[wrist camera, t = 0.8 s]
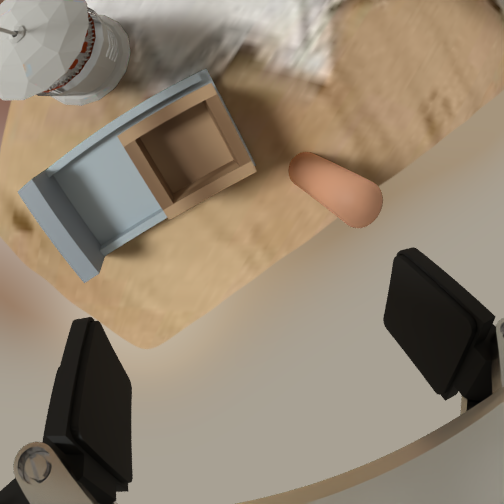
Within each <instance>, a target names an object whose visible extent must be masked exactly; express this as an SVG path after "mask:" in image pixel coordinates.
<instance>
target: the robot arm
mask: <svg viewBox="0 0 504 504" xmlns="http://www.w3.org/2000/svg"><path fill="white" fill-rule="evenodd" d="M494 319H495V316H494V315H493V314H492V313H491V312H490V311H489V310H488V309H486V307H484V306H483V305H482V304H481V303H480V302H479V301H478V300H477V299H476V298H475V297H473V296H472V295H471V294H470V293H469V292H468V291H467V290H466V289H465V288H463V287H462V286H461V285H460V284H459V283H458V282H456V281H455V280H454V279H453V278H452V277H451V276H449V275H448V274H447V273H446V272H445V271H444V270H442V269H441V268H440V267H439V266H438V265H436V264H435V263H434V262H433V261H431V260H430V259H429V258H428V257H427V256H425V255H424V254H423V253H421V252H420V251H419V250H418V249H416V248H409V249H405V250H401V251H399V252H398V253H397V256H396V257H395V258H394V261H393V267H392V274H391V280H390V286H389V292H388V297H387V303H386V309H385V314H384V325H385V327H386V329H387V330H388V331H389V332H390V334H391V335H392V336H393V337H394V338H395V340H396V341H397V342H398V344H399V345H400V346H401V348H402V349H403V350H404V351H405V353H406V354H407V355H408V357H409V358H410V359H411V361H412V362H413V363H414V364H415V366H416V367H417V368H418V370H419V371H420V372H421V373H422V375H423V376H424V378H425V379H426V380H427V382H428V383H429V384H430V386H431V387H432V388H433V390H434V391H435V392H436V393H437V394H441V396H442V397H443V398H444V400H447V399H449V398H451V397H453V396H454V395H456V394H457V393H458V391H459V392H460V393H461V395H462V399H461V414H460V416H459V417H457V418H455V419H454V420H452V421H450V422H449V423H447V424H445V425H444V426H442V427H440V428H438V429H437V430H435V431H433V432H431V433H430V434H428V435H426V436H424V437H422V438H420V439H418V440H417V441H415V442H413V443H411V444H409V445H407V446H405V447H403V448H401V449H399V450H397V451H395V452H393V453H390V454H388V455H386V456H384V457H381V458H379V459H377V460H375V461H372V462H370V463H368V464H365V465H363V466H360V467H358V468H356V469H353V470H350V471H348V472H345V473H343V474H340V475H338V476H334V477H332V478H329V479H326V480H323V481H320V482H317V483H314V484H311V485H308V486H305V487H301V488H298V489H294V490H291V491H288V492H284V493H280V494H276V495H272V496H268V497H264V498H260V499H256V500H252V501H247V502H242V503H237V504H504V318H502V319H501V320H499V321H498V323H497V325H496V327H495V326H494V325H493V321H494ZM131 399H132V387H131V382H130V380H129V377H128V376H127V374H126V372H125V370H124V368H123V366H122V365H121V363H120V361H119V359H118V357H117V355H116V353H115V352H114V350H113V348H112V346H111V344H110V342H109V340H108V338H107V336H106V334H105V332H104V329H103V327H102V325H101V323H100V322H99V321H94V319H93V318H92V317H88V318H82V319H76V320H74V321H73V323H72V325H71V329H70V332H69V336H68V339H67V343H66V346H65V350H64V354H63V357H62V361H61V365H60V367H59V368H58V370H57V374H56V378H55V382H54V386H53V391H52V395H51V399H50V405H49V409H48V414H47V420H46V425H45V431H44V436H43V442H32V443H29V444H27V445H25V446H23V447H22V448H21V449H20V450H19V451H18V453H17V455H16V457H15V460H14V464H13V470H14V475H15V479H14V480H12V481H11V482H10V483H9V484H8V485H7V486H6V487H5V488H3V489H2V490H1V491H0V504H117V503H116V502H115V501H116V492H117V491H118V492H120V491H121V492H122V491H128V483H130V482H132V451H131V450H132V449H131Z"/></svg>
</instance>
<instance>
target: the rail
mask: <svg viewBox="0 0 504 504" xmlns="http://www.w3.org/2000/svg"><path fill="white" fill-rule="evenodd" d="M210 83H212V85H213V87H214V88H215V90H216V92H217V94H218V96H219V98H220V100H221V102H222V104H223V106H224V108H225V109H226V111H227V113H228V115H229V117H230V119H231V121H232V123H233V125H234V127H235V129H236V131H237V133H238V135H239V137H240V139H241V141H242V143H243V145H244V147H245V149H246V151H247V153H248V155H249V157H250V159H251V161H252V163H253V165H254V166H256V165H255V163H254V161H253V158H252V156H251V154H250V152H249V150H248V148H247V146H246V144H245V142H244V140H243V138H242V136H241V134H240V133H239V131H238V129H237V127H236V125H235V123H234V121H233V119H232V117H231V115H230V113H229V111H228V109H227V107H226V105H225V103H224V101H223V99H222V97H221V96H220V94H219V92H218V90H217V88H216V86H215V84H214V82H213V80H212V78H211V77H210V75H209V73H208V71H207V69H206V68H205V69H203V70H201V71H199V72H197V73H195V74H193V75H191V76H189V77H187V78H185V79H184V80H182V81H180V82H178V83H176V84H174V85H172V86H170V87H169V88H167V89H165V90H163V91H161V92H159V93H158V94H156V95H154V96H152V97H151V98H149V99H147V100H146V101H144V102H142V103H141V104H139V105H137V106H136V107H134V108H132V109H131V110H129V111H127V112H126V113H124V114H123V115H121V116H120V117H118V118H116V119H115V120H113V121H112V122H110V123H109V124H107V125H106V126H104V127H103V128H101V129H100V130H99V131H97V132H96V133H94V134H93V135H91V136H90V137H88V138H87V139H86V140H84V141H83V142H82V143H80V144H79V145H77V146H76V147H75V148H73V149H72V150H71V151H69V152H68V153H67V154H65V155H64V156H63V157H62V158H60V159H59V160H58V161H56V162H55V163H54V164H53V165H51V166H50V167H49V168H47V169H46V170H44V171H43V172H41V173H40V174H38V175H37V176H36V177H34V178H33V179H31V180H30V181H29V182H28V183H27V184H26V185H24V186H23V187H22V188H21V189H20V190H19V191H18V194H19V195H20V197H21V198H22V200H23V201H24V203H25V204H26V206H27V207H28V209H29V210H30V212H31V213H32V215H33V216H34V218H35V219H36V220H37V222H38V223H39V225H40V226H41V228H42V229H43V230H44V232H45V233H46V234H47V236H48V237H49V239H50V240H51V241H52V243H53V244H54V245H55V247H56V248H57V249H58V251H59V252H60V253H61V255H62V256H63V257H64V258H65V260H66V261H67V262H68V263H69V265H70V266H71V267H72V269H73V270H74V271H75V272H76V273H77V275H78V276H79V277H80V278H81V280H82V281H83V282H84V283H85V282H87V281H88V280H90V279H91V278H93V277H95V276H96V275H98V274H99V273H100V270H101V267H102V264H103V261H104V258H105V256H106V255H107V254H109V253H110V252H112V251H114V250H115V249H117V248H118V247H120V246H122V245H123V244H125V243H126V242H128V241H130V240H131V239H133V238H134V237H136V236H138V235H139V234H141V233H143V232H144V231H146V230H147V229H149V228H151V227H152V226H154V225H156V224H157V223H159V222H161V221H162V220H164V219H166V218H167V216H166V214H165V213H164V211H163V210H162V208H161V207H160V205H159V203H158V202H157V200H156V199H155V197H154V196H153V194H152V192H151V191H150V189H149V188H148V186H147V184H146V183H145V181H144V180H143V178H142V176H141V175H140V173H139V172H138V170H137V168H136V167H135V165H134V163H133V162H132V160H131V159H130V157H129V155H128V154H127V152H126V150H125V149H124V147H123V145H122V144H121V142H120V140H119V139H118V137H117V136H118V135H120V134H121V133H123V132H124V131H126V130H127V129H129V128H130V127H132V126H133V125H135V124H137V123H138V122H140V121H142V120H143V119H145V118H147V117H148V116H150V115H152V114H153V113H155V112H157V111H158V110H160V109H162V108H164V107H165V106H167V105H169V104H171V103H173V102H174V101H176V100H178V99H180V98H182V97H184V96H186V95H187V94H189V93H191V92H193V91H195V90H197V89H199V88H201V87H203V86H205V85H207V84H210Z"/></svg>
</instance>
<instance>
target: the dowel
mask: <svg viewBox="0 0 504 504" xmlns="http://www.w3.org/2000/svg"><path fill="white" fill-rule="evenodd" d="M289 176H290V179H291V180H292V182H293V183H295V184H296V185H297V186H299V187H300V188H301V189H303V190H304V191H305V192H306V193H308V194H309V195H310V196H312V197H313V198H314V199H316V200H317V201H318V202H320V203H321V204H322V205H323V206H325V207H326V208H327V209H329V210H330V211H331V212H332V213H334V214H335V215H336V216H337V217H339V218H340V219H341V220H342V221H344V222H345V223H346V224H347V225H349V226H351V227H353V228H362V227H365V226H368V225H369V224H371V223H372V222H373V221H374V220H375V219H376V218H377V217H378V215H379V213H380V211H381V208H382V203H383V197H382V192H381V190H380V188H379V187H378V186H377V185H376V184H375V183H373V182H372V181H370V180H368V179H366V178H364V177H362V176H360V175H358V174H356V173H354V172H352V171H350V170H347V169H345V168H343V167H341V166H339V165H337V164H335V163H333V162H331V161H328V160H326V159H324V158H322V157H320V156H318V155H315V154H313V153H310V152H302V153H300V154H298V155H296V156H295V157H294V158H293V159H292V161H291V162H290V165H289Z"/></svg>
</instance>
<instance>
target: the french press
mask: <svg viewBox="0 0 504 504" xmlns="http://www.w3.org/2000/svg"><path fill="white" fill-rule="evenodd" d="M87 9H89V10H87ZM88 12H91V13H88ZM93 12H94V13H93ZM92 13H93V14H92ZM95 13H96V12H95V11H94V10H92V9H90V8H88V7H87V3H86V1H85V0H5V1H4V2H3V3H1V4H0V98H1V99H3V100H25V99H27V98H29V97H31V96H34V95H38V96H51V97H53V98H54V99H56V100H58V101H60V102H62V103H63V104H67V105H81V106H82V105H85V104H88V103H91V102H94V101H97V100H100V99H101V98H102V97H104V96H105V95H106V94H107V93H109V92H110V91H111V90H113V89H114V88H115V87H116V85H117V84H118V82H119V81H120V80H121V78H122V77H123V75H124V74H125V72H126V69H127V65H128V62H129V58H130V54H131V52H130V46H129V39H128V35H127V34H126V32H125V31H124V30H123V28H122V27H121V25H120V24H119V23H118V22H116V21H114V20H112V19H110V18H108V17H106V16H104V15H98V14H97V13H96V14H95ZM94 14H95V15H94ZM41 92H42V93H41ZM46 92H47V93H46ZM44 93H45V94H44ZM47 94H49V95H47Z"/></svg>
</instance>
